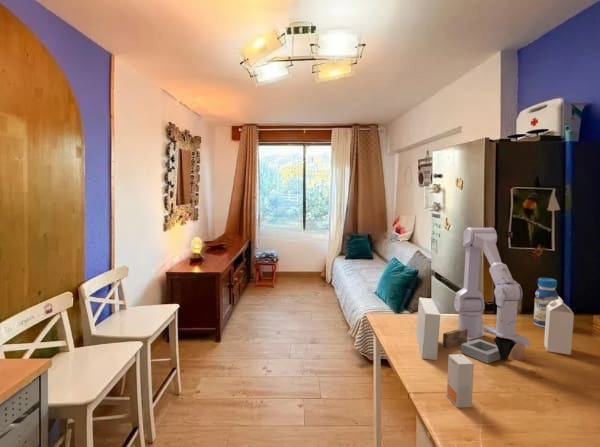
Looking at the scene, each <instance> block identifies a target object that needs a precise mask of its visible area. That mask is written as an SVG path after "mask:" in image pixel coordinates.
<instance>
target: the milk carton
mask: <svg viewBox="0 0 600 447" xmlns="http://www.w3.org/2000/svg"><path fill="white" fill-rule="evenodd" d="M574 318H575V315H574V312H573V311H572V309H571V308H570V307H569V306H568V305H566V304H565V303H564V300H563V299H562V298H561V297H560V296H559V295H558V298H557V300H555V301H551V302H550V303H549V304H548V305H547V308H546V323H545V327H544V340H543V345H544V347H545V349H546V352H551V353H557V354H562V355H563V354H564V355H567V356H568V355H570V356H571V355H572V343H573V331H574V320H575V319H574Z"/></svg>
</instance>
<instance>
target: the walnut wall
mask: <svg viewBox="0 0 600 447" xmlns="http://www.w3.org/2000/svg"><path fill="white" fill-rule="evenodd" d="M467 332H468V329H466V328H461V329H458V328H457V329H454V330H451V331H448V332H444V333H442V334H443V335H442V347H443V348H445V349H448V348H452V347H454V346H458V345H461V344H463V343H467V342H468V339H467Z"/></svg>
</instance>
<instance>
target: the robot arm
mask: <svg viewBox="0 0 600 447" xmlns="http://www.w3.org/2000/svg"><path fill="white" fill-rule="evenodd" d="M497 241H498V235H497V230H496V229H495V228H494V227H492V226H491V227H471V226H468V227H466V229H465V230H464V231H463V240H462V242H463V243H462V246H463V247H464V248H465V254H464V255H465V258H464V259H465V261H464V273H463V274H464V276H463V287H462V288H461V289H459V290H458V291H456V292H455V297H454V302H453V306H454V310H455V311H456V312H457V313H458V317H457V318H458V321H457V322H458V323H457V330H458V329H461V328H466V329H468V332H467V341H468V340H469V341H473V340H476V339H480V338H483V337H484V336H485V335H486V334H490V335H494V336H495V337H494V338H493V341H494V344H495V345H497V348H498V350H499V354H500V359H499V360H500V361H503V362H506V361H508V360H509V357H510V355H511V350H512V348H513V347H514V345H515V344H516V343H519V344H522V345H523V346H525V347H530V346H531V339H530V338H527V337H524V336H522V335H520V334H519V333H516V332H517V318H518V306H519V305H518V302H519V301H521V300H523V299H522V298H523V289H522V287H521V285H520V283H518V282H517V281H516V280H514V278H513V277H512V274H511V272H510V270H509V268H508V265H507V264H506V263H503V262H502V260H501V256H500V252H499V250H498V246H497ZM481 251H483V254H484V255H485V257H486V259H487V261H488V263H489V265H490V267H489V269H488V270H489V271H488V272H489V274H490V277H491V278H492V281H493V283H494V284H493V285H494V286H495V288H494V290H493V292H494V297H495V305H497V307H496V308H497V309H496V323H495V327H494V326H490V325H484V317H483V315H482V313H483V312H484V310H485V300H484V295H483V293H482V292H481V291H480V290H479V276H480V275H479V274H480V273H479V272H480V258H481Z"/></svg>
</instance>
